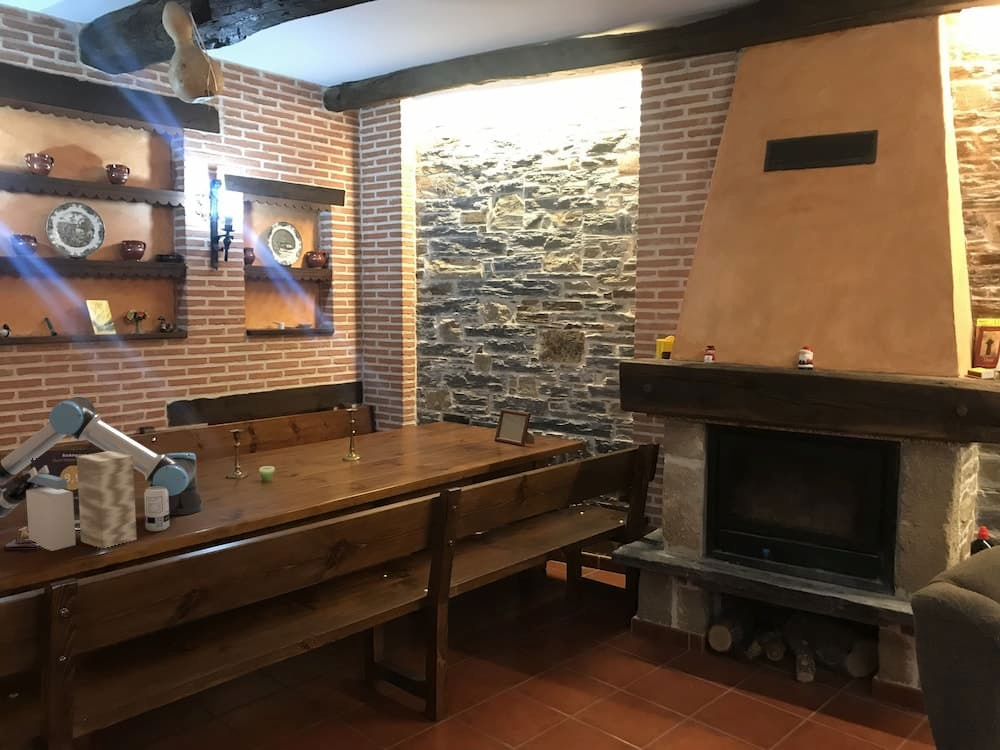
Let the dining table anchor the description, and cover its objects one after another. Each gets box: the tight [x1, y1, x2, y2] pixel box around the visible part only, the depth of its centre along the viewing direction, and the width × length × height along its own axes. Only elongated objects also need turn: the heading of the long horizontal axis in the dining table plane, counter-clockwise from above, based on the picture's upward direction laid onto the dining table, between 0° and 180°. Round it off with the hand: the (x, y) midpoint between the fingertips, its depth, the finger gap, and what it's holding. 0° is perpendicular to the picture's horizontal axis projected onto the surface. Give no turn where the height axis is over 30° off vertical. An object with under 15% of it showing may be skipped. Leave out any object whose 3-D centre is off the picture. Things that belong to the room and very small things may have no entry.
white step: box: [26, 486, 76, 552], centre depth 277 cm, size 8×15×18 cm, turn 56°
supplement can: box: [143, 485, 170, 532], centre depth 295 cm, size 8×8×15 cm
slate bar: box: [21, 469, 68, 490], centre depth 277 cm, size 3×23×3 cm, turn 56°
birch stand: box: [76, 451, 138, 549], centre depth 280 cm, size 12×14×30 cm
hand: (41, 470), depth 278 cm, fingers open, 3 cm apart
